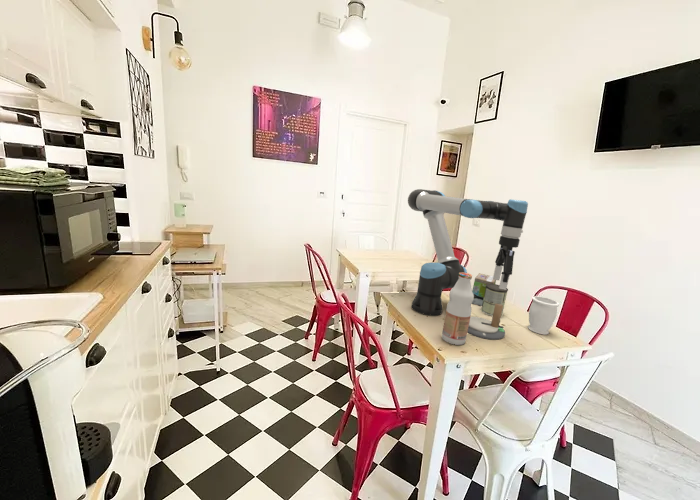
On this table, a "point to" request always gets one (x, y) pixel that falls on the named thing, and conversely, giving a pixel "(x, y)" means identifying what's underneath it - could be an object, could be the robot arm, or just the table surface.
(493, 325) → the tuner dial
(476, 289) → the tea box
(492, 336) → the dial base
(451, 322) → the fruit juice
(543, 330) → the jar
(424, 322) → the table surface
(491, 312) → the coffee can
